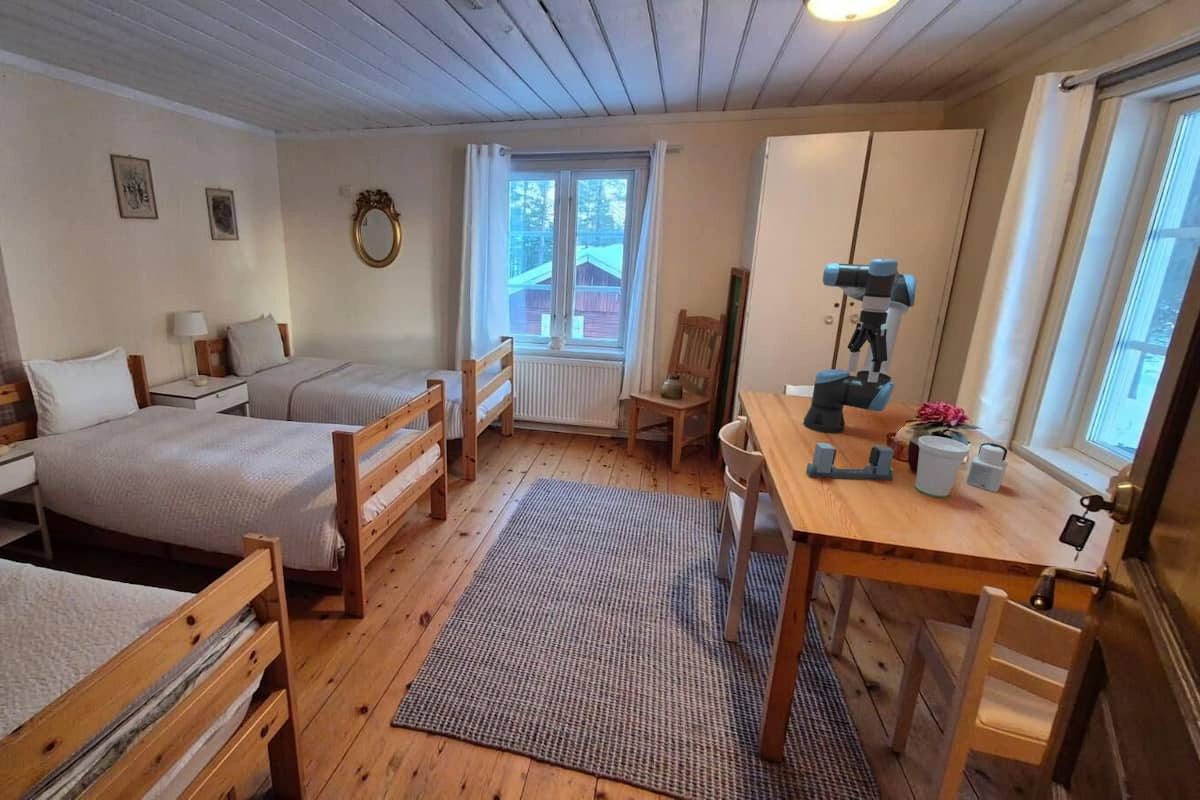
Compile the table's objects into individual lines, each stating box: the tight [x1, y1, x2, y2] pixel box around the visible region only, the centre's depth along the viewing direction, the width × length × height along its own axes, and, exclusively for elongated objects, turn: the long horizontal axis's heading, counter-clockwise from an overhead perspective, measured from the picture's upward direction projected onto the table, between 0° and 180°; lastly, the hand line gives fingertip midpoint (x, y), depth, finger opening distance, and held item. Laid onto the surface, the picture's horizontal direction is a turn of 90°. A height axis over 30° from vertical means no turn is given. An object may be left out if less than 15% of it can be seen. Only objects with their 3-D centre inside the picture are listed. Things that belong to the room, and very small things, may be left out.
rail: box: [805, 444, 895, 481], centre depth 156 cm, size 4×26×10 cm, turn 90°
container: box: [966, 442, 1008, 493], centre depth 154 cm, size 8×8×13 cm
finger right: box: [811, 442, 837, 473], centre depth 155 cm, size 4×5×8 cm
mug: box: [907, 437, 920, 474], centre depth 161 cm, size 10×8×10 cm
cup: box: [914, 435, 970, 499], centre depth 148 cm, size 12×12×15 cm
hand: (861, 376), depth 163 cm, fingers open, 13 cm apart
